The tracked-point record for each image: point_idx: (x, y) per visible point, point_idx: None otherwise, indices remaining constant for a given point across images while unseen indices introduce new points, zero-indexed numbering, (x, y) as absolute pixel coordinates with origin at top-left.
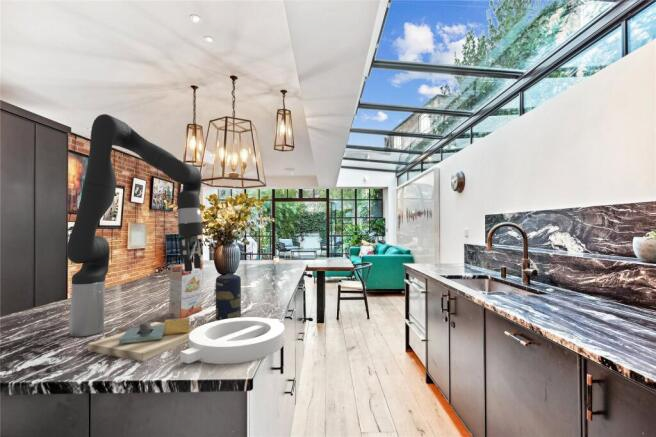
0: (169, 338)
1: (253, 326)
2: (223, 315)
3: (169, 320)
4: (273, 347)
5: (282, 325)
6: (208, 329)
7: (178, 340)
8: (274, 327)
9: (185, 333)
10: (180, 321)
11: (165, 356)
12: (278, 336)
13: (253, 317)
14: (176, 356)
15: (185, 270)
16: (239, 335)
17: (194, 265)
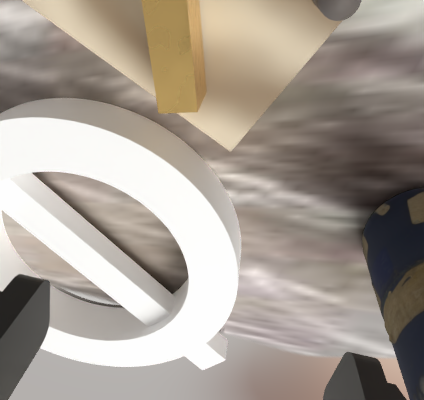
0: (112, 14)
1: (151, 302)
2: (375, 228)
3: (158, 7)
4: None
5: (107, 363)
6: (105, 181)
7: (102, 56)
8: (90, 345)
9: None
10: (153, 70)
11: (3, 20)
12: None
13: (221, 320)
14: (4, 62)
15: (16, 283)
16: (65, 260)
17: (357, 386)
